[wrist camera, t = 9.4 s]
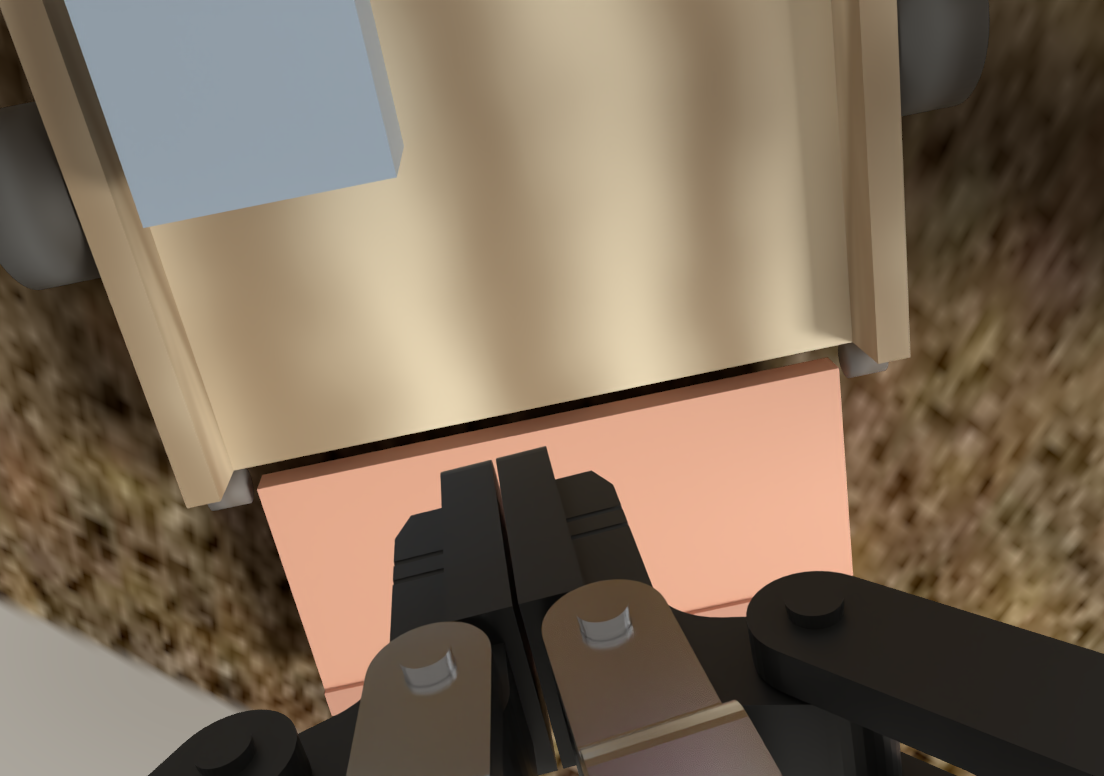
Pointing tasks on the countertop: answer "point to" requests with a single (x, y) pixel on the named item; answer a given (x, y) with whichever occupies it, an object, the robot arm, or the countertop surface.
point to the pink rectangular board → (619, 457)
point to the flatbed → (508, 218)
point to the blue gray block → (239, 99)
